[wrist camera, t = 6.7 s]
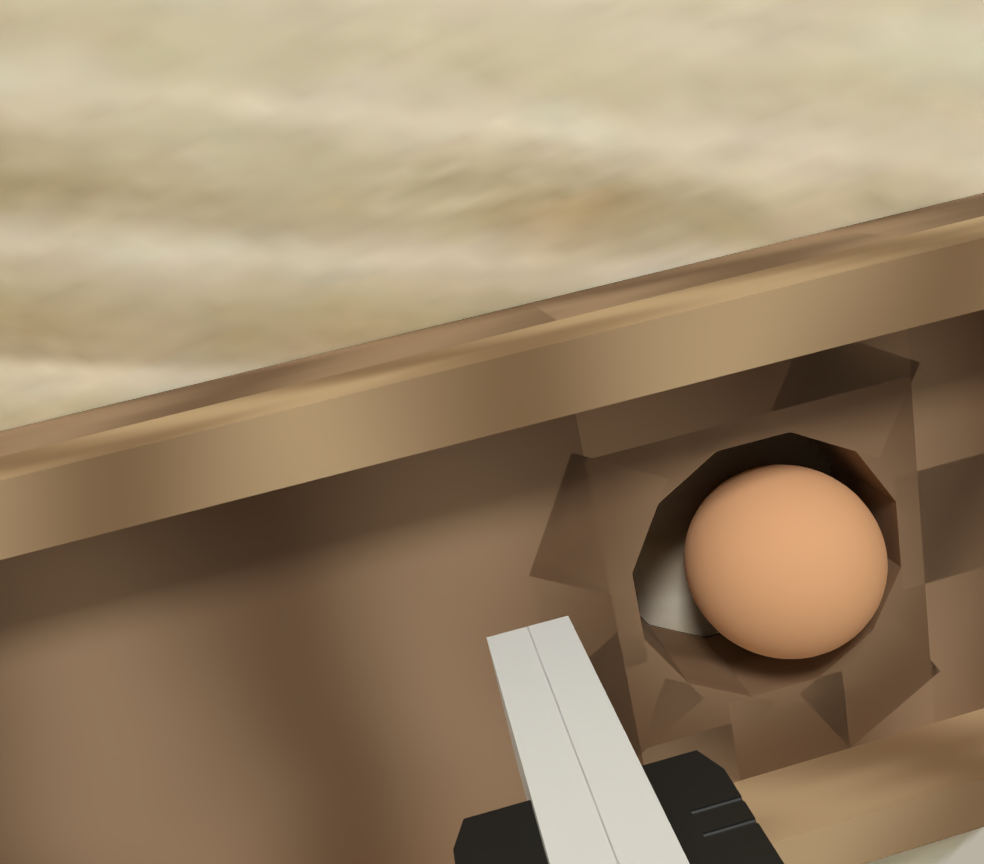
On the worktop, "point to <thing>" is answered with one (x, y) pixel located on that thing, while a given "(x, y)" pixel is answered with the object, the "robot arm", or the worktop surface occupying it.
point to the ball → (785, 561)
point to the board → (497, 567)
